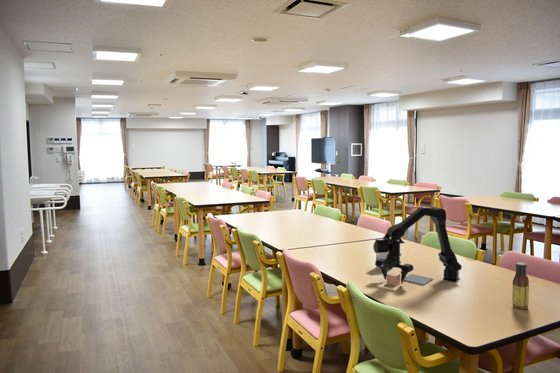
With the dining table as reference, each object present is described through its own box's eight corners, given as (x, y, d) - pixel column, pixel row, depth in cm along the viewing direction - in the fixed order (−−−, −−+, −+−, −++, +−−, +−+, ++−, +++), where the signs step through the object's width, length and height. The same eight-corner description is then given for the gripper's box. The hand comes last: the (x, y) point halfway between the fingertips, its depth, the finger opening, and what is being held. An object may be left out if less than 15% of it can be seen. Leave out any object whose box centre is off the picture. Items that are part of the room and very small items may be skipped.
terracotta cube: (400, 283, 212) (400, 273, 212) (395, 285, 209) (395, 276, 208) (391, 281, 216) (391, 271, 215) (386, 283, 212) (386, 274, 212)
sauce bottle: (522, 304, 184) (525, 261, 181) (531, 310, 177) (534, 265, 175) (508, 304, 183) (510, 261, 181) (516, 310, 177) (519, 265, 175)
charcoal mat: (433, 279, 217) (433, 278, 217) (423, 285, 209) (423, 284, 209) (411, 274, 225) (411, 273, 225) (401, 280, 217) (401, 279, 217)
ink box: (388, 266, 241) (389, 246, 240) (393, 268, 236) (393, 248, 235) (375, 267, 239) (375, 247, 238) (379, 270, 234) (380, 250, 233)
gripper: (369, 251, 211) (369, 281, 212) (404, 258, 198) (403, 289, 200) (380, 247, 219) (380, 276, 221) (414, 253, 206) (413, 283, 208)
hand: (393, 281), depth 212 cm, fingers open, 9 cm apart
